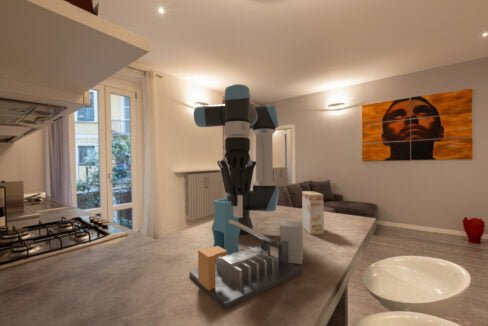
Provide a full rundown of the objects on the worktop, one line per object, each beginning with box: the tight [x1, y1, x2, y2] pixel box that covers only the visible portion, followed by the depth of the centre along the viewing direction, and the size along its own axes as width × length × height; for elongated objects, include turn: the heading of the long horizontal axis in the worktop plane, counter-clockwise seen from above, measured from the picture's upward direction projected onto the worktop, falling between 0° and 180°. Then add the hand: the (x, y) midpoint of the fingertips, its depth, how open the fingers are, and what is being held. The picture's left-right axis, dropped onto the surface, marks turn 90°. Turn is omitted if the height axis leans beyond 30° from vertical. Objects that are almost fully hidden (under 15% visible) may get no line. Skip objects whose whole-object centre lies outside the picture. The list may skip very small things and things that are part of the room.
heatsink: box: [189, 234, 303, 311], centre depth 67 cm, size 20×28×8 cm
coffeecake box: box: [301, 190, 325, 236], centre depth 114 cm, size 15×7×20 cm, turn 179°
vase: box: [211, 198, 240, 256], centre depth 85 cm, size 8×8×20 cm
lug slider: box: [197, 246, 227, 290], centre depth 60 cm, size 6×6×8 cm
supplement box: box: [279, 220, 304, 265], centre depth 78 cm, size 7×7×13 cm
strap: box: [228, 220, 279, 248], centre depth 70 cm, size 6×20×2 cm
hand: (237, 216), depth 65 cm, fingers closed
